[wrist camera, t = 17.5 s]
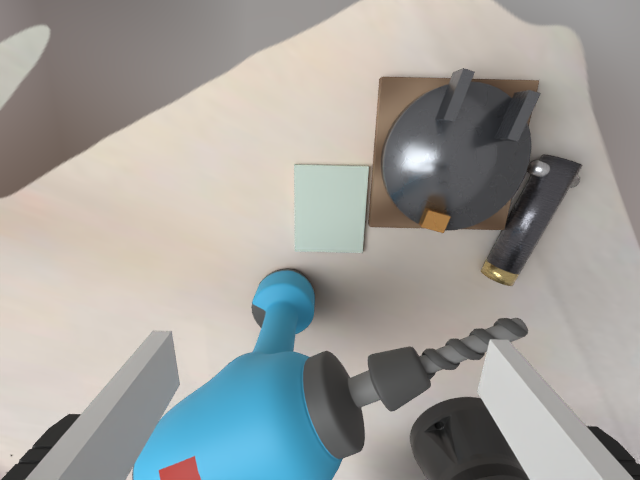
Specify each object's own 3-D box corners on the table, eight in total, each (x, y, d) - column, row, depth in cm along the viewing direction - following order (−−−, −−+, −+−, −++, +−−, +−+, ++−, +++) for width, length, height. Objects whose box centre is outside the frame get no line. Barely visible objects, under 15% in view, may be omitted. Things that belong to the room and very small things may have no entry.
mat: (361, 250, 37) (362, 252, 37) (295, 249, 37) (294, 251, 37) (368, 165, 34) (368, 166, 33) (294, 164, 34) (294, 164, 33)
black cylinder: (503, 273, 39) (564, 164, 34) (527, 289, 36) (598, 171, 31) (466, 266, 37) (526, 149, 32) (488, 282, 34) (558, 155, 29)
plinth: (497, 225, 36) (504, 229, 35) (368, 223, 36) (370, 227, 35) (529, 82, 31) (539, 80, 30) (379, 79, 31) (382, 76, 30)
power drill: (409, 194, 35) (557, 306, 13) (437, 256, 38) (599, 438, 16) (205, 297, 40) (62, 506, 18) (242, 346, 42) (157, 583, 20)
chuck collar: (481, 238, 35) (501, 252, 31) (362, 205, 34) (368, 216, 30) (544, 108, 30) (577, 105, 26) (409, 64, 29) (423, 55, 25)
